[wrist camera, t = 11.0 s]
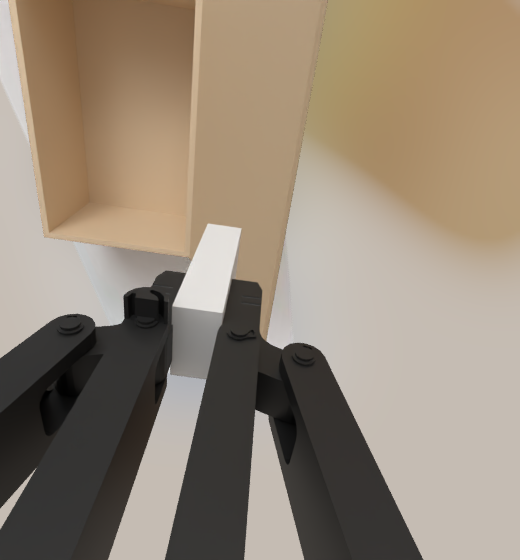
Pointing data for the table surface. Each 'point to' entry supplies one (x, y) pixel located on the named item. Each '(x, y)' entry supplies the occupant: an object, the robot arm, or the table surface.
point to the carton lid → (253, 126)
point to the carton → (112, 117)
